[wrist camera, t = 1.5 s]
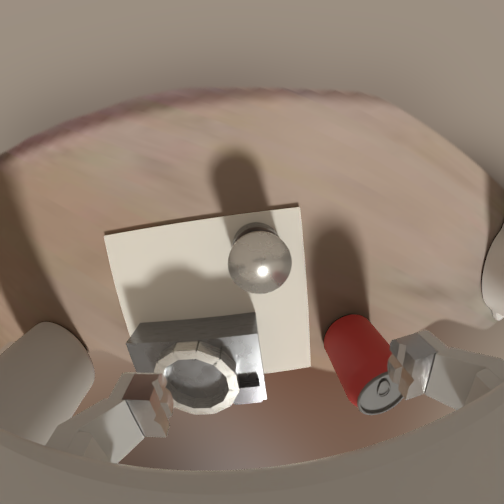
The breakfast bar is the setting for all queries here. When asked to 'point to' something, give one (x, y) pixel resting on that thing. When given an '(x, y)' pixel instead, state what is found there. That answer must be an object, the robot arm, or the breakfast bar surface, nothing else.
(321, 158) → the breakfast bar surface
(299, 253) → the mat
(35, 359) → the cylinder vase
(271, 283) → the lens
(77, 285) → the breakfast bar surface
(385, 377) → the beer can
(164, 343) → the camera body
